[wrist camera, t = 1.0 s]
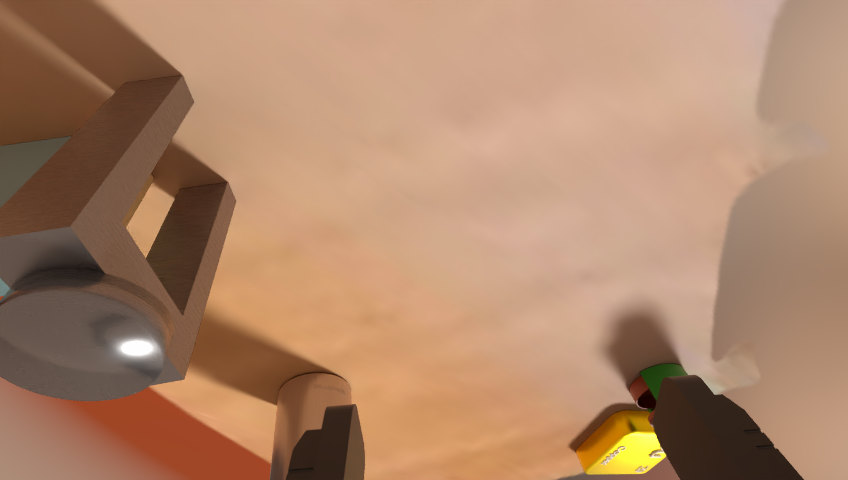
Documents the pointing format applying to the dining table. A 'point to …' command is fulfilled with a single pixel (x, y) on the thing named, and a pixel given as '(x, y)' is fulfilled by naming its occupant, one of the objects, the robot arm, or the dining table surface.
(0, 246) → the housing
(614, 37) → the dining table surface
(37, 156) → the sage green rectangular prism
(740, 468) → the robot arm
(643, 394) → the motor
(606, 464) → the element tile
